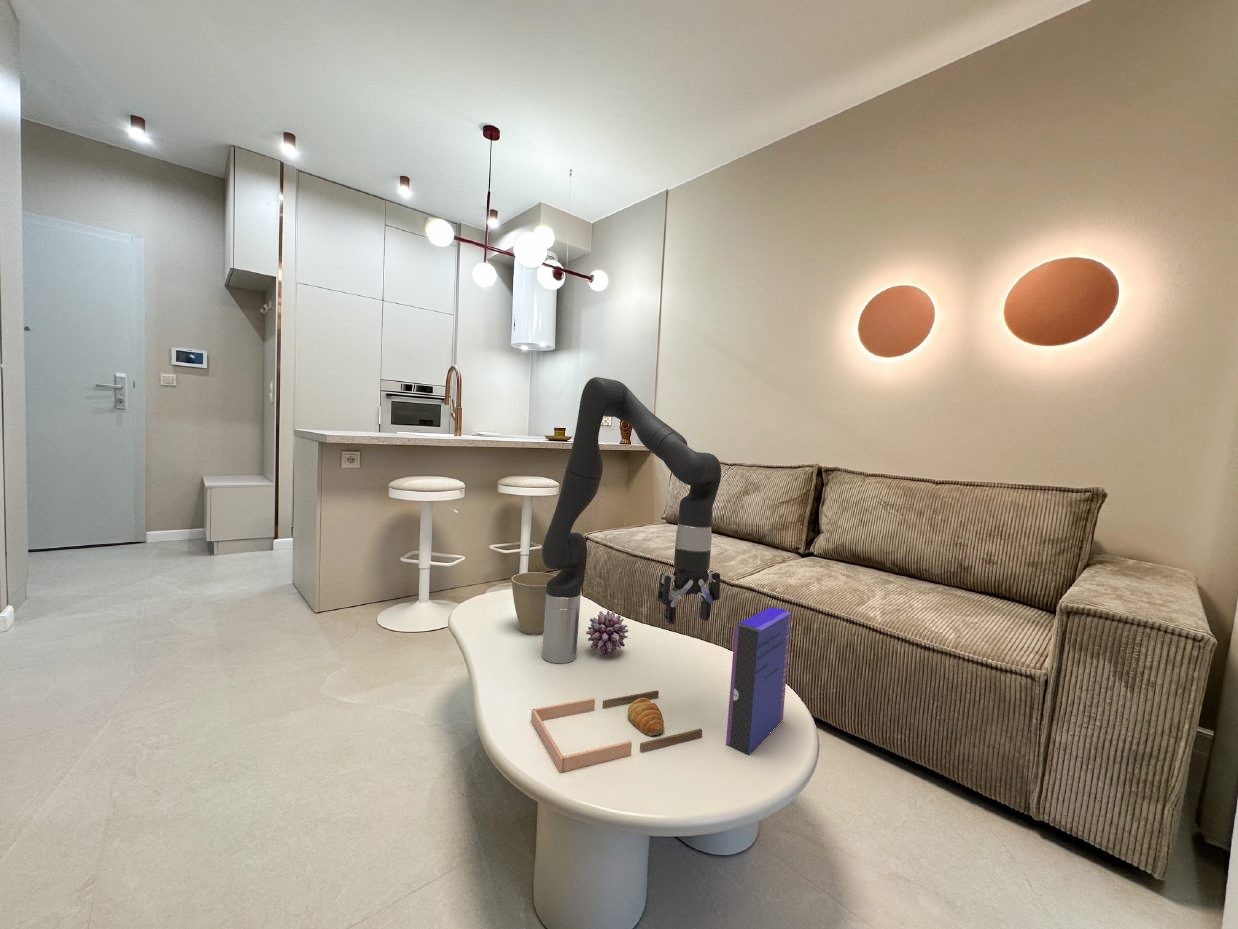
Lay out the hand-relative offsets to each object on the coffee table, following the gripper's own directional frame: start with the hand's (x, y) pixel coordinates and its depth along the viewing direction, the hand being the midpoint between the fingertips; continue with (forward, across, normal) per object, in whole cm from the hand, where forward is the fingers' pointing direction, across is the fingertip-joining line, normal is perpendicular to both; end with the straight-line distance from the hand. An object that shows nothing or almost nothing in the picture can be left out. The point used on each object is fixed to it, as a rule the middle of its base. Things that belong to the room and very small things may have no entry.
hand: (687, 621), depth 105 cm
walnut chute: (+21, +7, -1) cm, 22 cm away
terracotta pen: (+21, +23, 0) cm, 31 cm away
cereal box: (+21, -12, +10) cm, 26 cm away
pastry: (+21, +8, -1) cm, 23 cm away
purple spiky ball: (+21, +2, -35) cm, 41 cm away
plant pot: (+21, +16, -57) cm, 63 cm away
